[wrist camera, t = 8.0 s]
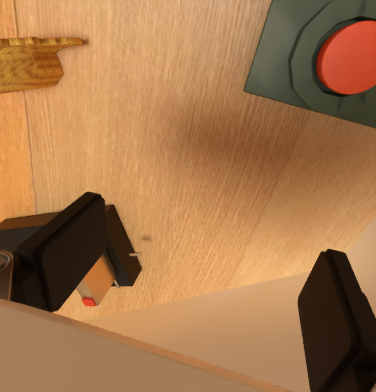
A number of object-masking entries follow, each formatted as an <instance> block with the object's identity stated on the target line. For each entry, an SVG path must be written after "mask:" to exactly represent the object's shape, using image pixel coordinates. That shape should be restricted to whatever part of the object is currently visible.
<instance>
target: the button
mask: <svg viewBox="0 0 376 392" xmlns="http://www.w3.org/2000/svg"><path fill="white" fill-rule="evenodd" d="M316 72H317V76H318V78H319V80H320V81H321V83H322V84H323V85H324V86H326V87H327V88H329V89H331V90H333V91H335V92H338V93H341V94H357V93H360V92H363V91H366V90H368V89H370V88H371V87H373V86H374V85H376V21H361V22H357V23H354V24H351V25H347V26H345V27H343V28H341V29H339V30H337V31H336V32H334V33H333V34H332V35H331V36H330V37H329V38H328V39H327V40H326V41H325V42H324V44H323V45H322V47H321V49H320V51H319V53H318V56H317V60H316Z"/></svg>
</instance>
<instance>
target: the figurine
mask: <svg viewBox="0 0 376 392" xmlns="http://www.w3.org/2000/svg"><path fill="white" fill-rule="evenodd" d="M81 45H83V44H82V39H79V38H41V39H38V37H26V38H13V39H0V94H1V93H9V92H17V91H24V90H31V89H37V88H44V87H50V86H55V85H56V83H57V82H58V81H59V79H60V78H61V76H62V75H63V71H62V68H61V65H60V62H59V60H58V58H57V56H56V54H55V53H56V52H57V51H58V50H60V49H61V48H63V47H70V46H81Z"/></svg>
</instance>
